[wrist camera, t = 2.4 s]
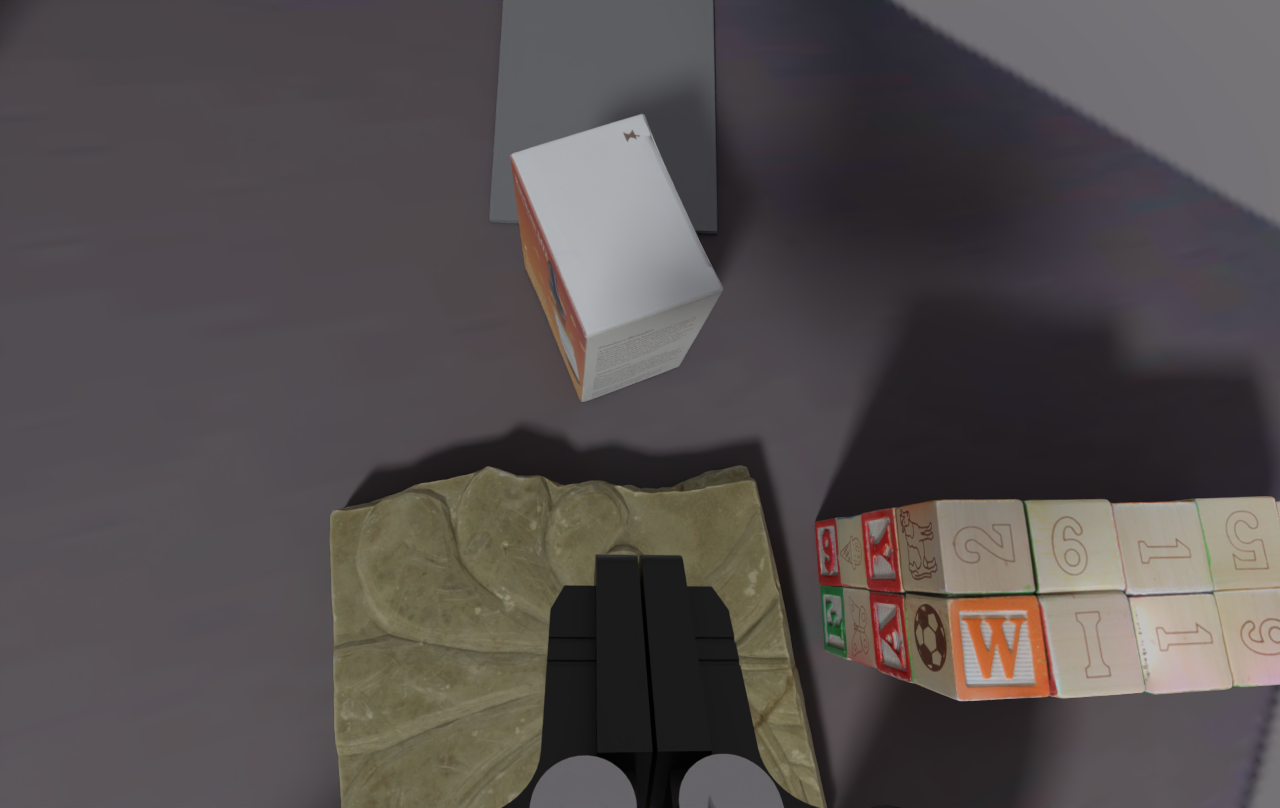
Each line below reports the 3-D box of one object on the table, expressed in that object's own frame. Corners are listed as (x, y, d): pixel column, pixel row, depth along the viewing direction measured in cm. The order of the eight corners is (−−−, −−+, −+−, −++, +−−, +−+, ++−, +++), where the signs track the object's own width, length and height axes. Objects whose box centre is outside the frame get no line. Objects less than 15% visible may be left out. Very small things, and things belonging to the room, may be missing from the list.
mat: (489, 221, 36) (489, 219, 36) (506, -32, 40) (505, -37, 40) (716, 233, 37) (717, 231, 37) (711, -15, 41) (712, -19, 41)
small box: (523, 266, 36) (504, 147, 26) (623, 233, 37) (643, 105, 27) (580, 407, 35) (582, 340, 24) (682, 368, 35) (727, 288, 25)
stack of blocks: (1206, 515, 36) (1514, 490, 24) (1231, 641, 35) (1571, 679, 23) (810, 521, 34) (936, 496, 22) (820, 654, 33) (960, 703, 21)
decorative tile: (820, 843, 31) (851, 877, 28) (363, 941, 29) (334, 991, 26) (745, 441, 35) (764, 427, 32) (337, 496, 33) (310, 488, 29)
